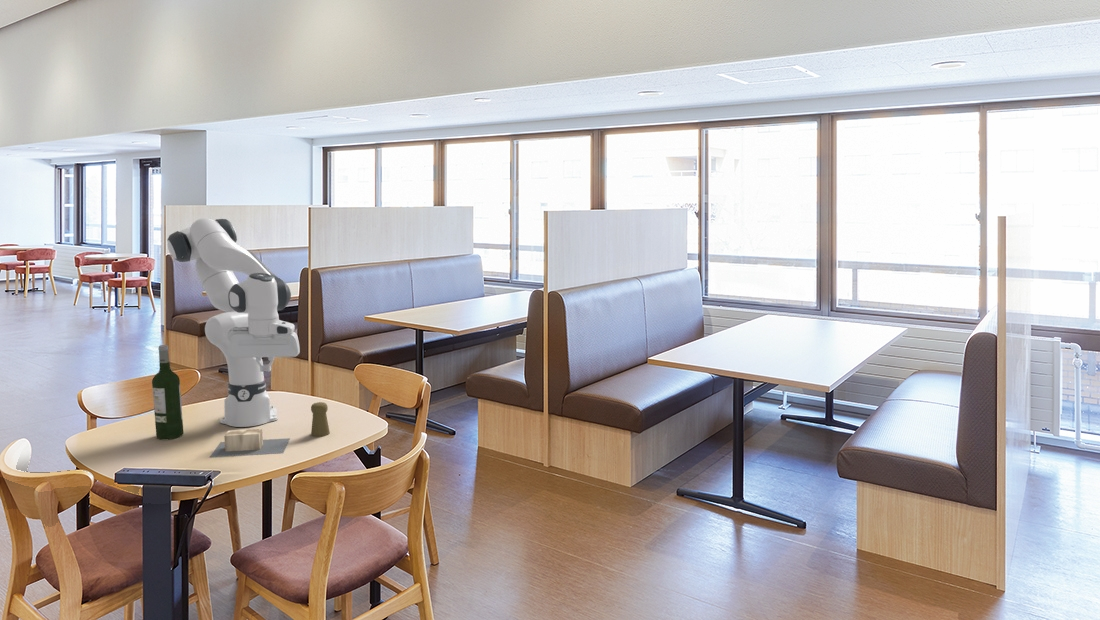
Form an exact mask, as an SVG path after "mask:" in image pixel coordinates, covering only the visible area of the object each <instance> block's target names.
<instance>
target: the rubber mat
mask: <svg viewBox="0 0 1100 620" xmlns="http://www.w3.org/2000/svg"><path fill="white" fill-rule="evenodd" d="M290 440H291V438H289V437H288V438H272V439H263V445H262V447H261V449H260V450H244V451H227V452H225V441H220V442H219V444H218V445H217V447H215V449H214V450H213V451H212V453H211V455H210V456H209V458H225V457H238V456H239V457H243V456H259V455H260V456H261V455H277V454H278V455H279V454H284V452H285V450H286V449H287V448H288V447H287V446H288V444H289V442H290Z"/></svg>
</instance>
